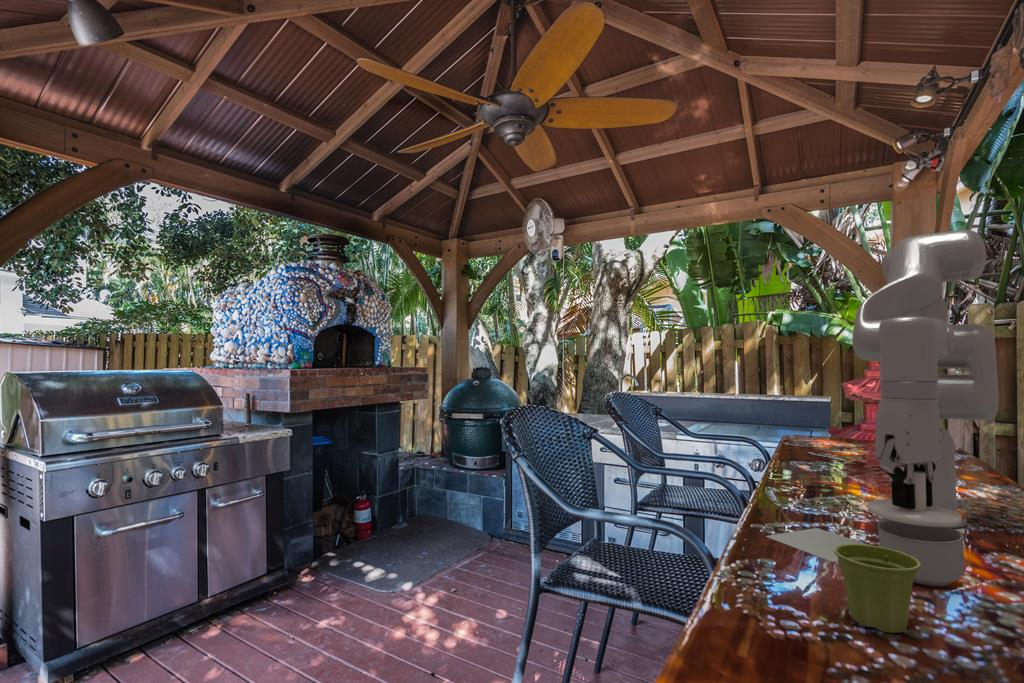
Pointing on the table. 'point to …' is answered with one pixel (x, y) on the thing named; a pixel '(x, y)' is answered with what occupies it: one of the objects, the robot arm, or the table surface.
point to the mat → (814, 542)
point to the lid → (921, 513)
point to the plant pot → (878, 585)
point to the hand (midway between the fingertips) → (912, 504)
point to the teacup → (926, 549)
